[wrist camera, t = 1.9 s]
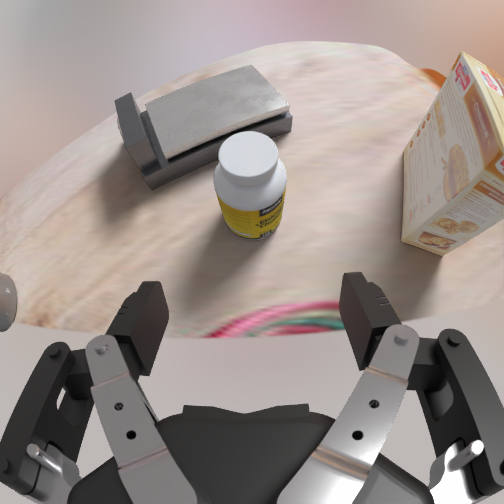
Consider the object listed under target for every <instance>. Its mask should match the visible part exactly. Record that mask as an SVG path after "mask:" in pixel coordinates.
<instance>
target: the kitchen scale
mask: <svg viewBox="0 0 504 504" xmlns="http://www.w3.org/2000/svg"><path fill="white" fill-rule="evenodd" d="M115 105H116V110H117V114H118V119H117V123H118V128H119V130H120V133H121V136H122V138H123V140H124V143H125V147H126V149H127V151H128V152H129V154H130V155H131V157H132V158H133V160H134V161H135V163H136V164H137V166H138V167H139V169H140V170H141V172H142V174H143V178H144V179H145V181H146V182H147V184H148V185H149V187H150V188H151V189H152V190H153V189H155V188H157V187H159V186H161V185H163V184H165V183H167V182H169V181H172V180H174V179H176V178H178V177H180V176H182V175H184V174H186V173H188V172H191V171H193V170H195V169H197V168H199V167H202V166H204V165H206V164H208V163H211V162H213V161H215V160H218V159H219V158H218V154H219V150H220V147H221V145H222V144H223V142H224V141H225V140H226V139H228V138H229V137H231V136H232V135H234V134H237V133H240V132H246V131H253V132H259V133H262V134H264V135H266V136H268V137H269V138H273V137H276V136H279V135H281V134H284V133H287V132H290V131H291V126H292V115H291V114H290V113H289V112H286V113H283V114H280V115H277V116H274V117H271V118H268V119H265V120H262V121H259V122H256V123H253V124H251V125H248V126H245V127H243V128H240V129H237V130H235V131H232V132H229V133H227V134H224V135H222V136H219V137H217V138H214V139H212V140H210V141H207V142H205V143H203V144H200V145H198V146H196V147H193V148H191V149H189V150H187V151H184V152H182V153H180V154H178V155H176V156H174V157H171V158H169V159H166V157H165V155H164V153H163V151H162V148H161V146H160V143H159V141H158V138H157V135H156V133H155V130H154V127H153V125H152V122H151V119H150V117H149V114H148V111H147V110H146V111H144V112H142V113H141V112H140V110H139V108H138V106H137V104H136V102H135V100H134V98H133V96H132V94H131V93H129V94H127V95H125V96H123V97H121V98H119V99H117V100H115Z"/></svg>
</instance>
